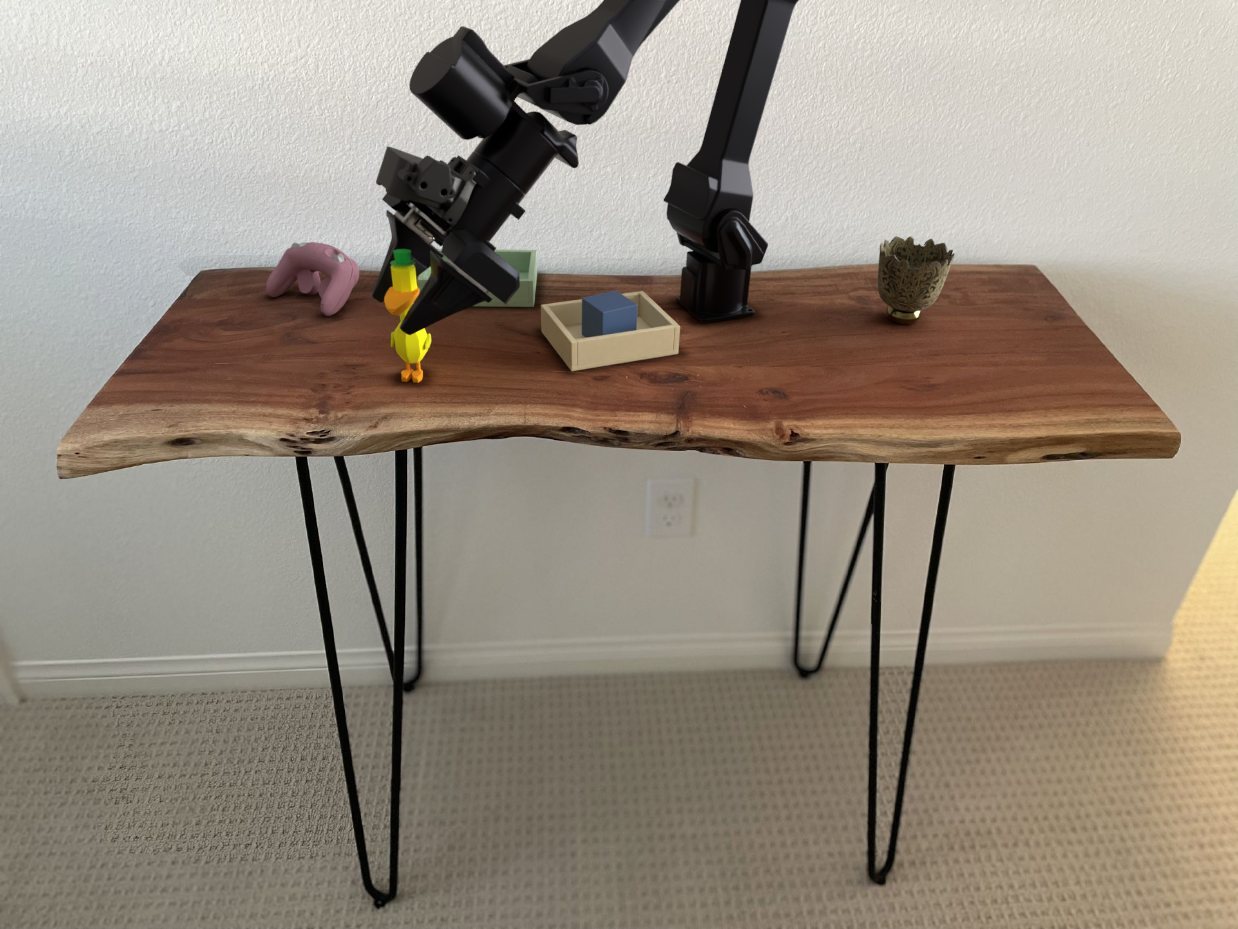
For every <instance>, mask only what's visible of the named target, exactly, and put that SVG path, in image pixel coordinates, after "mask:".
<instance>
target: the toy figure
mask: <svg viewBox="0 0 1238 929" xmlns="http://www.w3.org/2000/svg"><path fill="white" fill-rule="evenodd" d="M393 253H394V257H395V260H394V261H391V262H390V264H391V265H392V266H391V273H392V282H393V287H390V288H389V290H388V291H387V293H386V295H385V297H384V301H383V302H384V305H385V309H386V310H387V312H389V314H390V315H391V316H398V317H399V320H400V321H399V323H398V325H397V326H396V328H395V329H394V331H391V332H390V348H393V347H394V348H395V352H396V354H397V355H398V356H399V358H400V359H402V361H403V362H405V369H403V370H402V371H401V372H400V375H401V377H400V378H401V382H402V383H403V382H404V383H408V382H409V381H411V380H412V383H420V382H422V381H423V378H424V371H423V369H421V361H423V359H424V357H425V356H426V354H427V352H428V351H429V349H430V347H431V344H432V335H431V333H430V332H429V333H427V331H426V328H424V329H422V330H420V331H418V332H416V333H414V334H412V335H408V334H406V333H405V332H403V331H402V330H401V329H400V325H401V323H402V321H403V320H404V318H405V316H406V314H407V312H408V311H409V309H410V307H411V306H412V304H413V303H414V301H415V299H416V298H417V296H418V295H419V291H420V289H419V287H418V281H417V277H416V271H415V266H414V264H415V261H413V260H411V250H408V249H397V250H393ZM411 364H415V367H416V369H415V370H414V369H412V368H411Z"/></svg>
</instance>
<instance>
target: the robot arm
mask: <svg viewBox="0 0 1238 929" xmlns="http://www.w3.org/2000/svg"><path fill="white" fill-rule="evenodd" d="M680 1H681V0H602V2H600V4H599V5H598V6H597V7H596V8H594V9H593V10H592V11H591V12H590V13H589V14H588V15H586V16H584V17H583V18H580V19H578V20H577V21H575V22H573V23H570V24H569V25H566V26H565V27H563V28H561V29H560V30H558V32H556V34H554V35H553V36H552V37H550V38H549V39H548V40H547V41H545V42H544V43H543V44H542V45H540V46H539V47H538V48H537V49H536V50H535V51H534V52H533V53H532V55H531V56H530V58H528V59H524V60H523V59H522V60H520V61H515V62H511V63H508V64H503V63H502V61H500V60H499V59H498V58H497V57H496V55H494V54H493V52H492V51H491V50H490V49H489V48H488V46H487V44H486V43H485V41H484V40H483V39H482V37H480V35H479V33H477V32H476V31H475V30H474V29H472V28H469V27H466V26H465V25H463V26H460V27H459V28H458V29H457V31H456V32H455V33H454V35H453V36H451V37H447V38H446V39H444V40H442V41H441V42H439V44H437V45H436V46H435V47H434V48H432V49H431V50H430V51H426V52H425V53H424V54H423V56H422V57H421V59H419V61H418V62H417V64H416V66H415V67H414V69H413V71H412V73H411V76H410V80H409V91H410V93H411V94H412V95H413V96H414V97H416V98H417V99H418V100H419V101H420V102H421V103H422V104H423V105H424V106H425V107H427V108H428V109H429V111H431V113H433V115H435V116H436V117H437V118H438V119H439V120H440V121H442V122H443V123H444V124H445V125H446V126H447V127H448V128H449V129H451V131H453V133H455V134H456V135H457V136H458V137H459V138H460V139H462V140H465V141H466V140H467V141H470V140H472V139H475V138H478V139H481V140H480V142H479V143H478V145H477V146H476V147H475V148H474V149H473V151H472V152H471V153H470V155H469V156H468V157H467V158H466V159H465V158H463V157H462V156H461V155H459V154H458V155H457V156H453V157H452V158H451V159H450V160H449V161H448V162H446V161H444V160H441V159H440V160H438V159H435V158H433V157H432V156H431V155H427V154H426V155H425V156H424V157H420V156H417V155H414V154H412V153H409V152H406V151H403V150H401V149H398V148H395V147H392V146H386V149H385V151H384V155H383V158H382V161H381V165H380V168H379V170H378V174H377V177H376V180H375V183H376V185H377V186H381V187H383V188H384V189H385V192H386V193H385V195H383V197H382V198H381V200H382V201H383V202H384V203H385V204H387V205H388V206H389V207H390V208H391V209H392V210H393V211H395V213H394V214H393V213H392V212H391V211H390V210H388V209H386V212H385V215H386V217H387V219H388V223H389V228H390V233H391V239H390V242H389V245H388V248H387V252H386V255H385V258H384V260H383V262H382V266H381V268H380V271H379V273H378V276H377V278H376V281H375V283H374V287H373V288H372V289H373V290H372V292H371V297H372V298H373V299H374V300H376V301H377V302H378V303H383V302H385V301H384V297H385V295H386V293H387V291H388V290H389V288H390V287H393V282H392V273H391V266H392V265H391V264H390V262H391V261H394V260H395V257H394V253H393V250H397V249H408V250H411V260H413V261H415V264H414V266H415V271H416V278H418V277H419V275H420V274H421V273H423V272H424V271H425V270H427V269H428V268H429V267H431V275H430V277H429V279H428V280H427V282H426V283H425V285H424V287H423V288H422V290H421V291H420V293H419V295H418V296H417V298H416V299H415V301H414V303H413V304H412V306H411V307H410V309H409V311H408V312H407V314H406V316H405V318H404V320H403V321H402V323H401V325H400V329H401V330H402V331H403V332H405V333H406V334H408V335H412V334H414V333H416V332H418V331H420V330H422V329H424V328H425V329H427V328H428V327H430V326H432V325H433V324H436V323H438V322H440V321H442V320H444V319H446V318H448V317H451V316H452V315H454V314H458V313H459V312H462V311H465V310H466V309H468V308H471V307H475V306H474V305H476V304H479V303H481V302H484V301H486V302H487V303H489V302H491V301H492V300H493V299H492V298H491V297H490V296H489V295H488V294H487V293H488V292H491V293H492V294H493V295H494V296H496V297H497V298H498V299H500V300H501V301H502V302H503V303H505V304H507V303H508V301H509V300H510V299H511V298H512V296H513V295H514V294H515V293H516V291H517V290H518V289H519V287H520V278H519V272H518V271H517V270H516V269H515V268H513V267H512V266H511V265H510V264H509V263H507V262H506V261H505V260H504V259H502V258H501V257H500V256H499V255H498V254H496V253H495V252H494V251H495V250H497V247H496V246H495V245H494V244H493V243H492V242H491V241H492V239H493V238H494V237H495V235H496V234H497V233H498V231H499V230H500V229H501V227H502V226H503V225H504V224H505V222H506V221H507V220H508V219H509V217H510V216H513V217H514V218H515V219H516V220H518V221H519V220H520V219H521V217H522V216H523V215H524V214H525V213H526V210H525V209H524V208H523V207H522V206H521V205H520V203H521V202H522V201H523V200H524V199H525V197H526V195H527V194H528V193H529V192H530V191H531V189H532V188H533V187H534V185H535V184H536V183H537V182H538V180H539V179H540V177H542V175H543V173H545V171H546V170H547V169H548V167H550V165H551V164H552V163H553V161H554V160H555V159H556V160H558V161H559V162H561V163H562V164H565V165H567V166H568V167H570V168H572V169H577V168H578V166H579V164H580V162H579V161H580V160H579V154H578V149H577V143H578V136H577V135H576V134H575V133H572V132H571V131H569V130H566V129H562V130H559V129H557V128H556V127H555V125H554V124H553V123H552V122H551V121H550V120H549V119H547V117H546V116H545V115H544V114H543V113H541V112H539V111H537V110H536V111H534V110H533V111H528V112H526V111H525V110H524V109H523V108H522V107H521V106H520V105H519V104H518V103H517V102H516V99H517V98H519V99H520V100H523V101H524V102H526V103H529V104H531V105H533V106H536V107H537V108H539V109H540V110H542V111H544V112H546V113H548V114H550V115H552V116H554V117H556V118H559V119H561V120H563V121H565V122H567V123H571V124H572V125H576V126H581V125H582V126H586V125H588V126H590V125H593V124H595V123H596V122H598V121H599V120H600V119H601V118H603V117H604V116H605V115H606V113H607V112H608V111H609V109H610V107H611V106H612V104H613V103H614V102H615V100H616V98H617V97H618V95H619V93H620V92H621V90H622V89H623V87H624V85H625V84H626V82H627V80H628V76H629V72H630V69H631V65H632V61H633V59H634V57H635V56H636V53H637V52H638V51H639V48H640V47H641V46H642V44H644V42H645V41H646V40H647V39H648V37H649V36H651V34H652V33H653V32H654V31H655V30H656V29H657V28H658V26H659V25H660V24H661V23H662V21H664V20H665V18H666V17H667V16H668V15H669V13H670V12H671V11H672V10H673V9H674V8H675V7H676V5H678V4H679V2H680ZM799 1H800V0H740V2H739V5H738V9H737V13H736V16H735V20H734V24H733V28H732V31H731V35H730V39H729V42H728V45H727V50H726V54H725V58H724V61H723V65H722V68H721V72H720V75H719V80H718V83H717V87H716V92H715V95H714V99H713V102H712V105H711V109H710V113H709V116H708V121H707V124H706V128H705V132H704V136H703V138H702V142H701V146H700V148H699V150H698V152H696V154H695V155H694V156H693V157H692V158H691V160H690V161H689V162H688V163H687V164H684V163H683V162H682V163H681V162H679V161H677V162H675V164H674V166H673V168H672V171H671V180H670V186H669V188H668V191H667V193H666V195H665V196H664V198H663V202H664V203H666V204H667V208H666V219H667V221H668V222H669V224H670V226H671V228H672V230H674V231H675V232H676V236H677V239H678V243H679V245H680V246H682V247H685V248H687V249H689V251H686V258H685V259H686V261H685V266H683V267H682V268H681V276H680V291H679V295H677V297H676V302H677V303H678V304H680V306H681V307H683V308H684V309H685V310H686V311H687V312H688V313H690V314H691V316H693V317H694V318H695V319H696V320H697V321H698V322H699V323H704V324H705V323H706V324H707V323H711V322H712V323H713V322H718V321H726V320H732V319H738V318H739V319H740V318H745V317H752V316H754V315H755V312H756V311H755V309H753V307H751V306H750V305H749V303H748V302H749V292H750V285H751V284H750V282H751V277H752V276H751V274H752V267H753V266H755V265H760V264H762V262H763V261H764V258H765V254H766V252H767V250H768V247H769V243H768V242H767V240H766V239H765V238H764V237H763V236H762V235H761V233H760V232H758V230H757V229H756V227H754V226H753V224H752V223H751V221H750V219H751V213H752V208H753V201H754V190H753V189H754V188H753V184H752V177H751V172H750V171H751V170H750V159H751V156H752V152H753V148H754V145H755V142H756V139H757V135H758V131H759V129H760V125H761V121H762V117H763V114H764V111H765V108H766V104H767V100H768V99H769V98H768V97H769V95H770V91H771V87H772V84H773V80H774V77H775V74H776V71H777V66H778V64H779V60H780V56H781V54H782V50H783V46H784V43H785V39H786V36H787V32H788V29H789V26H790V23H791V20H792V16H793V13H794V9H795V7H796V5H797V3H798V2H799ZM433 243H436V245H438V246H439V247H441V249H442V251H441V252H440V251H439V250H438V249H439V248H437V247H436V246H435V245H433ZM443 254H444V255H445V256H446V257H447V258H448V260H447V261H445V260H444V259H442V257H444V255H443Z"/></svg>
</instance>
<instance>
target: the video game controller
mask: <svg viewBox="0 0 1238 929" xmlns="http://www.w3.org/2000/svg"><path fill="white" fill-rule="evenodd" d="M319 273H321V274H323V275H326V276H325V278H323V279H322V280H321V277H320V275H319ZM359 278H360V269H359V266H358V264H357V262H356V261H355V260H354V259H352V258H351V257H349V256H348V255H347V254H345V252H344V251H342V250H341V249H339V248H338V247H335V246H333V245H330V244H327V243H322V242H316V241H310V242H298V243H297V242H292V244H291V247H289V248H287V249H286V250H285V251H284V252H283V255H282V256H281V258H280V260H279V262H278V263H277V265H276V266H275V267H274V269H273V270H272V271H271V273H270V274H269V276H268V278H267V280H266V284H265V290H266V294H267V295H268V296H269V297H271V298H278V297H279V296H281V295H283V294H284V293H285V292H286V291H288V290H289V289H290V288H291V287H292V285H293V284H294V283H295V282H296V281H297V285H298V289H299V291H300V292H301V293H303V294H307V295H312V296H313V295H316V294H317V293H318V295H319V297H320V299H321V301H320V312H321V313H322V314H323V315H324V316H325V317H331V316H333V315H335V314H336V313H337V312H339V311H340V310H341V309H342V308H343V307H344V305H345V304H346V302H347V301H348V299H349V298H350V295H351V292H352V291H353V288H354V287H355V286H356V285H357V284H358V281H359Z"/></svg>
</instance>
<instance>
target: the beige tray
mask: <svg viewBox="0 0 1238 929" xmlns="http://www.w3.org/2000/svg"><path fill="white" fill-rule="evenodd" d="M621 294H622V295H624V296H625V297H627V298H628V299H630V300H631V301H633V302H634V303H636V304H637V327H636V330H635V331H628V332H621V333H615V334H608V335H602V336H595V337H588V338H586V337H584V336H583V335H582V298H581V299H574V300H567V301H566V300H565V301H559V302H552V303H544V304H541V305H540V323H541V324H540V326H541V328H540V329H541V331H540V332H541V333H542V335H543V336H544V337H545V338H546V339H547V341H548V342H549V344H550V345H551V347H553V349H554V350H555V351H556V353H557V354H558V355H559V357H560V358H561V359H562V360H563V362H564V363H565V365H566V366H567V368H568V369H569V370H570V371H571V372H576V371H581V370H588V369H594V368H601V367H606V366H607V367H608V366H613V365H617V364H624V363H630V362H631V363H632V362H636V361H643V360H649V359H655V358H656V359H657V358H661V357H669V356H673V355H678V354H679V348H680V347H679V346H680V334H681V333H680V332H681V326H680V325H679V324H678V323H677V322H676V321H675V320H674V319H673V318H672V317H671V316H670V315H669V314H668V313H667V312H666V311H665V310H663V309H662V308H661V306H660V305H658V303H656V302H655V301H654V300H653V299H652V298H651V297H650V296H649V295H648V294H647V293H646V292H645V291H643V290H640V291H632V292H625V293H621Z"/></svg>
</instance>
